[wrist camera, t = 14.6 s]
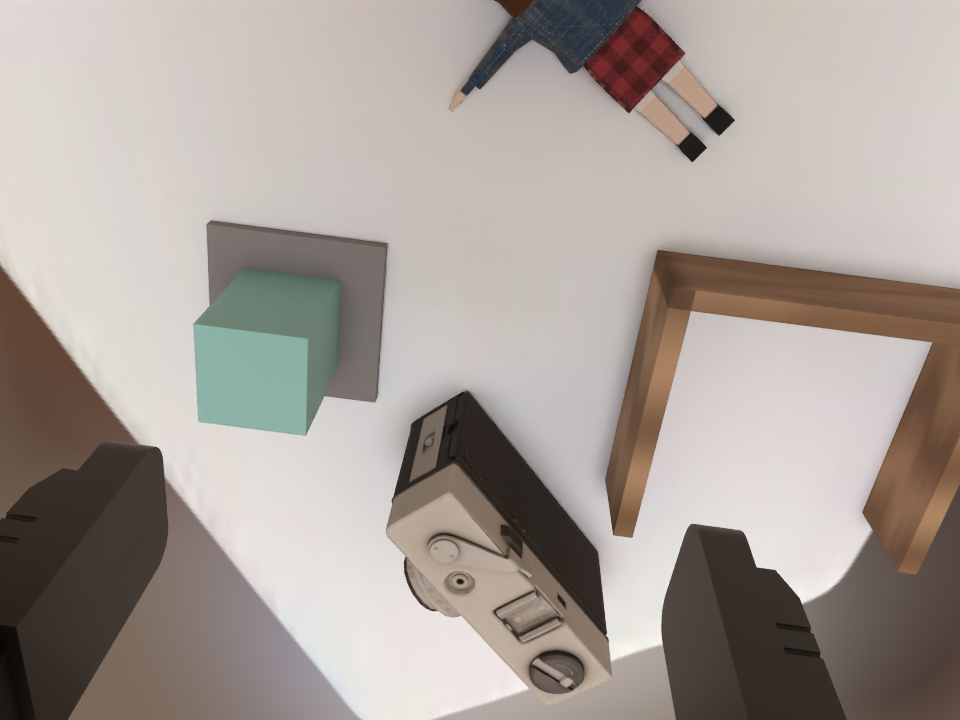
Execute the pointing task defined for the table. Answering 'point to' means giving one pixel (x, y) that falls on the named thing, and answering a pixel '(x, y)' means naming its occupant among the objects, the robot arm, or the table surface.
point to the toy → (607, 58)
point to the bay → (817, 303)
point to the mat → (322, 259)
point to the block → (268, 351)
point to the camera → (499, 552)
